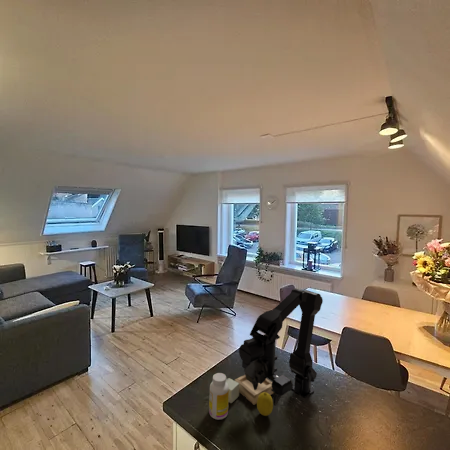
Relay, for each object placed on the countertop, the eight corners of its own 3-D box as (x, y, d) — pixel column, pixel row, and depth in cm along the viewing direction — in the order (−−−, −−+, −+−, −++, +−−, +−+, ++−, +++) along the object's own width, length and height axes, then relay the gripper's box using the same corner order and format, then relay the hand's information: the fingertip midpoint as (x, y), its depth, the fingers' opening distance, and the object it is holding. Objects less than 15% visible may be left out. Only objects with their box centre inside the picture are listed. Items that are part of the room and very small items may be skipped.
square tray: (254, 377, 107) (254, 369, 107) (274, 392, 99) (274, 384, 99) (234, 388, 101) (235, 379, 101) (253, 405, 92) (254, 395, 92)
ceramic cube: (228, 390, 100) (228, 377, 99) (238, 396, 96) (239, 383, 96) (220, 397, 96) (220, 384, 95) (231, 403, 92) (231, 390, 92)
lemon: (270, 409, 90) (271, 387, 90) (274, 421, 85) (275, 398, 84) (255, 408, 90) (256, 387, 90) (257, 421, 85) (258, 398, 84)
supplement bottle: (231, 410, 89) (232, 375, 88) (221, 423, 83) (222, 386, 83) (215, 403, 92) (216, 368, 92) (205, 415, 87) (206, 378, 86)
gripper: (231, 348, 89) (229, 391, 90) (270, 375, 74) (269, 427, 75) (254, 339, 96) (252, 379, 96) (294, 363, 81) (292, 410, 82)
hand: (264, 397), depth 87 cm, fingers open, 9 cm apart
